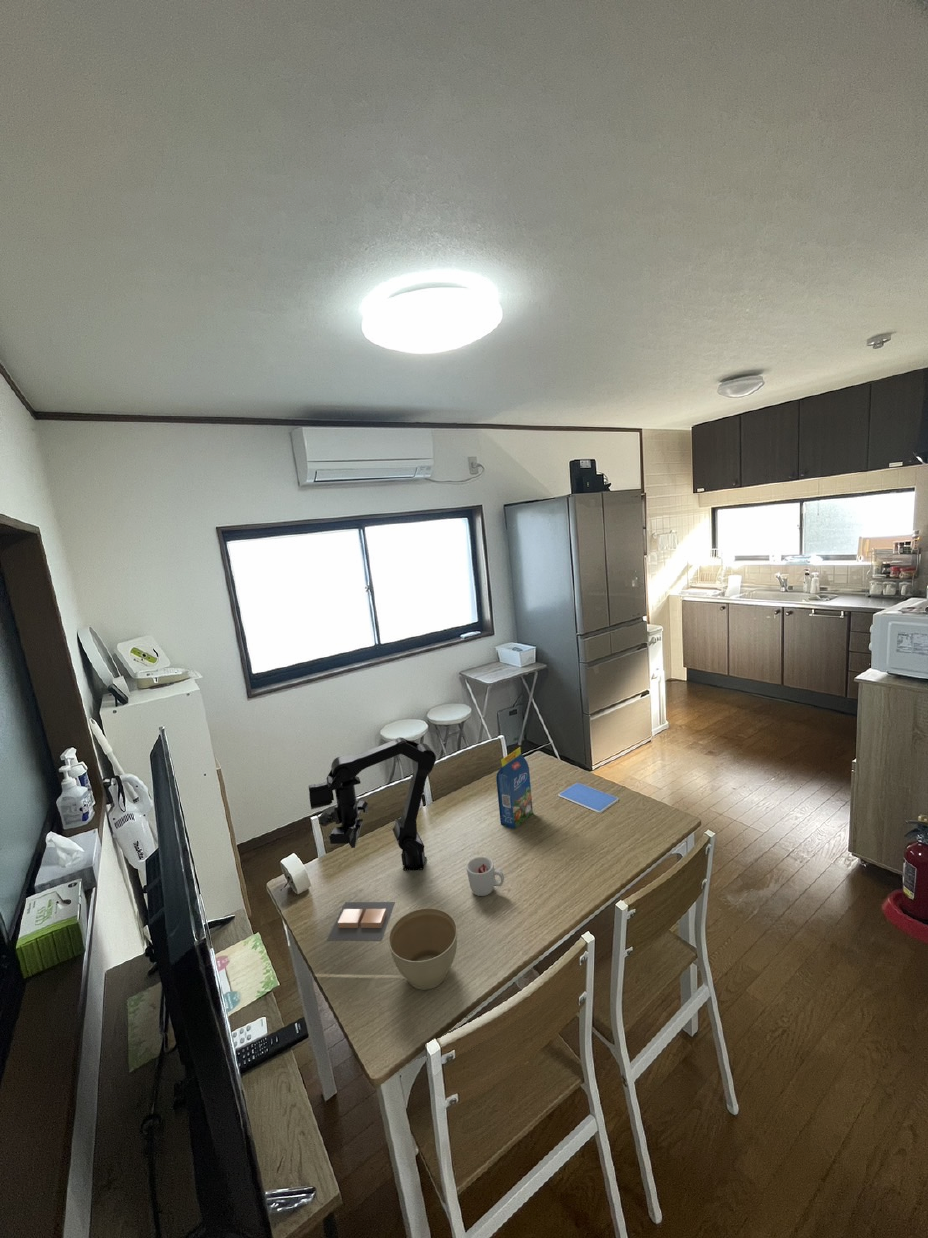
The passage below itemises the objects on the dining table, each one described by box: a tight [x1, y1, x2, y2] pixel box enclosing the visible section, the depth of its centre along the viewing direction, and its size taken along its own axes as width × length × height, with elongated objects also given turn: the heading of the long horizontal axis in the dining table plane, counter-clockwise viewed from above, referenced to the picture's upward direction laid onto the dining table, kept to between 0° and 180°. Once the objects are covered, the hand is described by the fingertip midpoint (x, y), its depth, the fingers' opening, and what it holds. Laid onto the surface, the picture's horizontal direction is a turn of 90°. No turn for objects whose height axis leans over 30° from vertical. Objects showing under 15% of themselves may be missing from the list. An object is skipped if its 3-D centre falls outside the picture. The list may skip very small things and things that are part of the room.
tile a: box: [361, 909, 386, 928], centre depth 137 cm, size 6×2×5 cm
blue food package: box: [495, 746, 534, 830], centre depth 178 cm, size 6×12×25 cm, turn 141°
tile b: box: [338, 909, 364, 928], centre depth 138 cm, size 6×2×5 cm
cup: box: [465, 856, 505, 897], centre depth 144 cm, size 11×8×8 cm
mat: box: [326, 901, 396, 942], centre depth 138 cm, size 15×14×1 cm
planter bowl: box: [388, 907, 458, 991], centre depth 118 cm, size 16×16×11 cm
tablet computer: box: [557, 782, 619, 814], centre depth 189 cm, size 19×13×1 cm, turn 40°
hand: (353, 847), depth 152 cm, fingers closed
